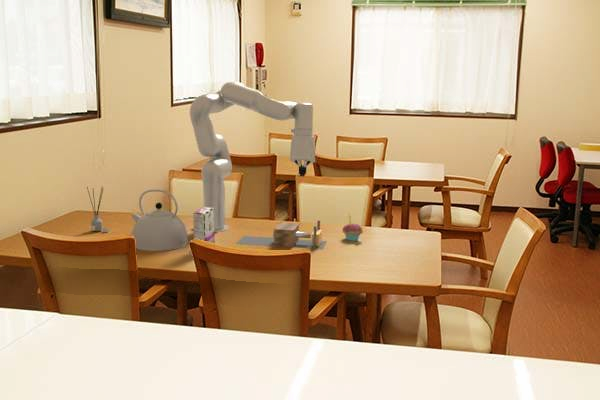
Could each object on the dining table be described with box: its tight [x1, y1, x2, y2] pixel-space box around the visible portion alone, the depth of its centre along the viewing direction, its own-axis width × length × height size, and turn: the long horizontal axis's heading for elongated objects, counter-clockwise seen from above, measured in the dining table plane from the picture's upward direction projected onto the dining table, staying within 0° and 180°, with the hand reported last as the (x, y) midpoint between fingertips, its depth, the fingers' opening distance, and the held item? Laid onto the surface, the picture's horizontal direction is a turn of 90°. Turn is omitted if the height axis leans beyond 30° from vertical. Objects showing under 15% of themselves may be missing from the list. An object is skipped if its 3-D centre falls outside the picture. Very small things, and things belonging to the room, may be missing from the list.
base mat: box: [235, 235, 328, 250], centre depth 271 cm, size 36×13×1 cm, turn 80°
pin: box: [272, 227, 312, 239], centre depth 270 cm, size 15×5×5 cm, turn 80°
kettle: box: [130, 189, 189, 252], centre depth 266 cm, size 25×23×22 cm
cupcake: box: [342, 214, 364, 242], centre depth 278 cm, size 9×8×12 cm
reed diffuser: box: [86, 186, 109, 233], centre depth 284 cm, size 10×7×20 cm
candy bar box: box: [193, 206, 216, 244], centre depth 258 cm, size 11×5×16 cm, turn 168°
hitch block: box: [273, 220, 321, 248], centre depth 269 cm, size 17×12×9 cm
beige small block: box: [311, 229, 323, 247], centre depth 268 cm, size 3×8×5 cm, turn 170°
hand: (302, 175), depth 276 cm, fingers closed
